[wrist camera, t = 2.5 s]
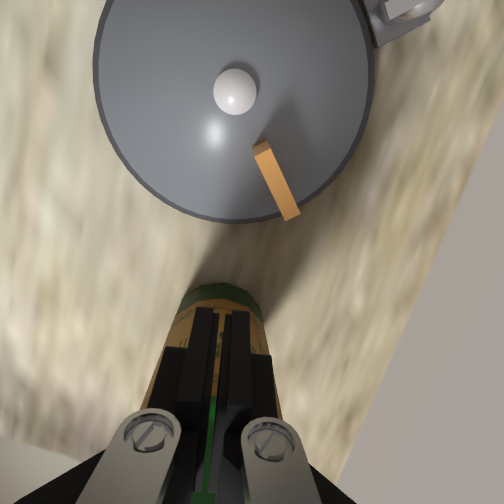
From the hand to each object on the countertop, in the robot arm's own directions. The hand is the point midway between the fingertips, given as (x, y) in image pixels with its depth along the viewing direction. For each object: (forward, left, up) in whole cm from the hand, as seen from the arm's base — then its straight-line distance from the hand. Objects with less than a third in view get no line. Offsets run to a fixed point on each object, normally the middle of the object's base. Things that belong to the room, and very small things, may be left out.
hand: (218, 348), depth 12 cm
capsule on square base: (-6, +17, -23) cm, 29 cm away
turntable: (-6, +4, -21) cm, 23 cm away
